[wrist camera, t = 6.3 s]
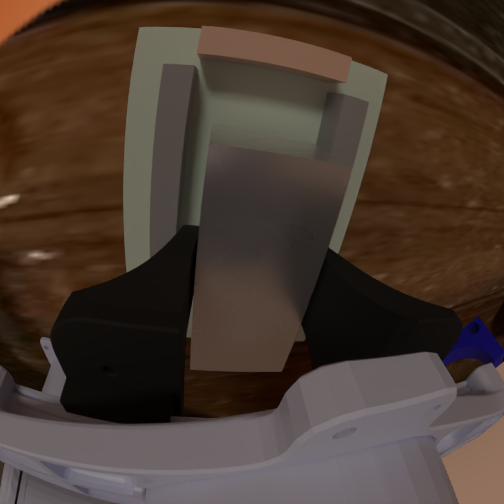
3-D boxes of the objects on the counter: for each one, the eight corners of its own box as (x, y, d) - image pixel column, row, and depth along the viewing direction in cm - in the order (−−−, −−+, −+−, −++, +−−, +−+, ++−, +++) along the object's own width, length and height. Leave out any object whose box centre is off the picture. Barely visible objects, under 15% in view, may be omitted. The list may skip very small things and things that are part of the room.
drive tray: (301, 333, 21) (310, 362, 19) (135, 323, 19) (128, 354, 17) (380, 74, 12) (410, 75, 10) (143, 30, 10) (127, 18, 8)
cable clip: (400, 387, 30) (418, 425, 25) (392, 375, 28) (413, 418, 23) (476, 333, 27) (500, 367, 22) (477, 315, 25) (504, 351, 20)
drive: (265, 299, 16) (281, 371, 12) (193, 295, 16) (190, 369, 12) (304, 137, 12) (352, 168, 8) (212, 123, 11) (208, 144, 7)
